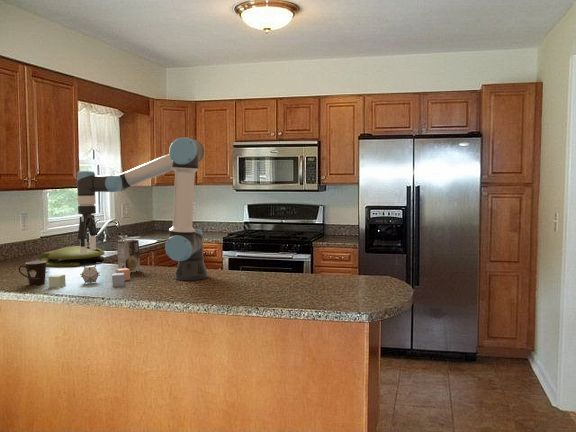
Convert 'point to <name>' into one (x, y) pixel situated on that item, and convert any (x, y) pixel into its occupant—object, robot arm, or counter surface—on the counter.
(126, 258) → the coffee box
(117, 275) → the slate cube
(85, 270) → the game die
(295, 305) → the counter surface
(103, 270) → the counter surface
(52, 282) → the sage cube
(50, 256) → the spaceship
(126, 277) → the terracotta cube
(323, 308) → the counter surface
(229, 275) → the counter surface
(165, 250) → the robot arm
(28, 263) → the coffee mug
